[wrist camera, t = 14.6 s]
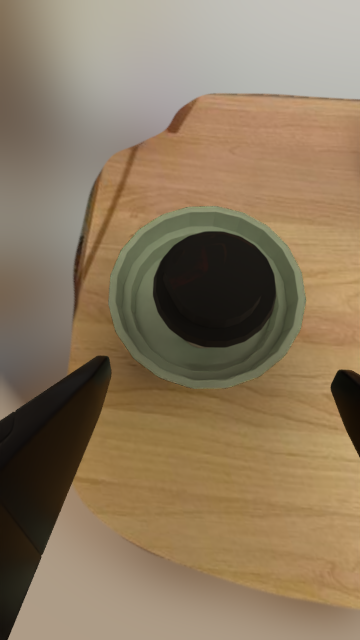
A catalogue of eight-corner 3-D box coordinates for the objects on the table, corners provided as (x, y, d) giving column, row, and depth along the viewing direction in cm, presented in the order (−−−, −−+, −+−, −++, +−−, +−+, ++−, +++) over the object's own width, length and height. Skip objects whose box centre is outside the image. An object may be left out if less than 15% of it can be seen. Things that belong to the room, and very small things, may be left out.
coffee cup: (253, 308, 21) (308, 247, 12) (221, 376, 20) (254, 370, 10) (187, 277, 22) (187, 197, 13) (151, 339, 21) (121, 302, 11)
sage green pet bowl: (186, 424, 19) (186, 436, 15) (95, 291, 23) (73, 270, 19) (315, 320, 22) (347, 305, 17) (213, 213, 25) (219, 177, 21)
